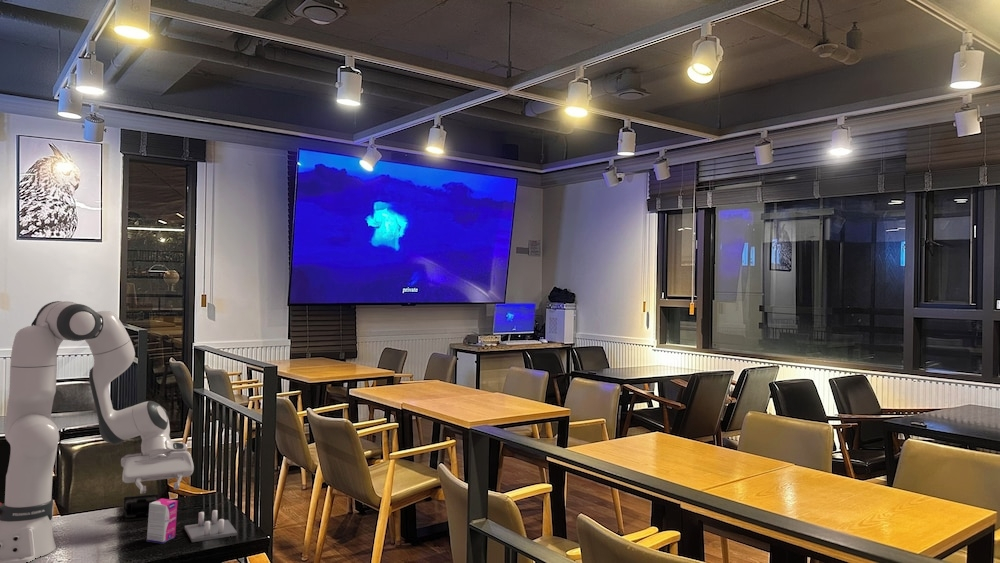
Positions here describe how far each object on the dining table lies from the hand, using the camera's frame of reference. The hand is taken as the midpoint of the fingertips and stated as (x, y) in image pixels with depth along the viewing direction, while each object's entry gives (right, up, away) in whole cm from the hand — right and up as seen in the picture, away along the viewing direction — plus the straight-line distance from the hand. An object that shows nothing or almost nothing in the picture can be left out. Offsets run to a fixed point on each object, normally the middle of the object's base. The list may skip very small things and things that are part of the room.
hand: (160, 490), depth 219 cm
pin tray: (+15, -14, +2) cm, 20 cm away
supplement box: (+3, -13, -6) cm, 15 cm away
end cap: (-13, -13, +13) cm, 23 cm away
